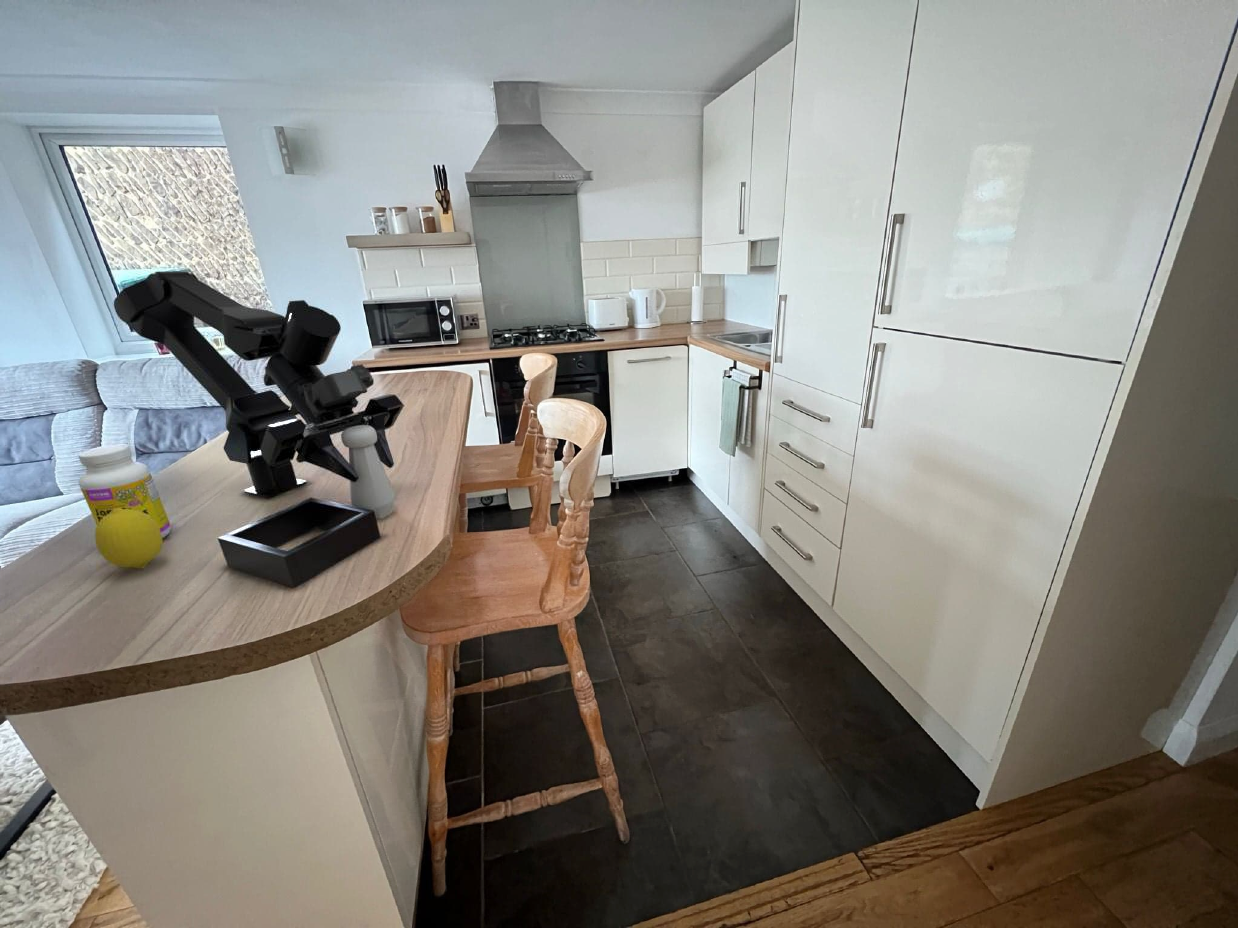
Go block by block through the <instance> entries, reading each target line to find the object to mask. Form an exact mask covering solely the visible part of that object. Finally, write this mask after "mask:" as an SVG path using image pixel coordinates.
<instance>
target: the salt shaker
mask: <svg viewBox="0 0 1238 928" xmlns="http://www.w3.org/2000/svg"><path fill="white" fill-rule="evenodd" d="M340 439H341V442H342V444H343V446H344V447H345V448H348V460H349V461H348V463H349V464H350V465H351V466H352V468H353V469H354V471H355V472H356V474H357V475H358V477H359V478H358V480H357V482H352V481H350V480H349V488H350V489H349V490H350V504H351V506H355V507H360V508H364V509H369V510H374V512H375V516H376V520H382V519H384V518H385V517H388V516H389V515H392V512H393V507H394V505H395V502H396V498H397V495H396V492H395V490H394V488H393V486H392V484H391V481H390V479H389V477H388V474H387V472H386V470H385V467H384V464H383V463H382V462H381V461H380V458H379V456H378V454H377V451H376V449H375V447H374V443H375V442H376V441H377V434H376V431H375V429H374V428H373V427H371V426H367V425H359V426H353V427H350V428H347V429H345V430H344V431H342V432H341V434H340Z"/></svg>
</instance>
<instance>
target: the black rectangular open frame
mask: <svg viewBox="0 0 1238 928" xmlns="http://www.w3.org/2000/svg"><path fill="white" fill-rule="evenodd" d="M377 520H378V519H376V516H375V512H374V510H369V509H364V508H360V507H355V506H352V505H350V504H344V503H340V502H335V501H332V500H331V501H330V500H326V499H321V498H317V497H313V496H312V497H309V498H306V499H304V500H302V501H299V502H296V503H295V504H292V505H290V506H288V507H286V508H284V509H281V510H278V511H276V512H273V513H272V514H269V515H267V516H265V517H262V518H260V519H258V520H256V521H254V522H251V523H249V524H247V525H244V526H242V527H239V528H238V529H236V530H235V529H234V530H233V531H230V532H228V533H226V534H223V535H222V536H219V537H217V540H218V541H217V542H218V543H219V546H220V549H221V552H222V554H223V557H224V560H225V562H226V566H227V567H228V568H230V569H233V570H235V571H239V572H243V573H246V574H249V575H252V576H256V577H259V578H262V579H264V580H268V581H271V582H274V583H277V584H281V585H284V586H286V587H290V588H293V589H295V588H297V587H299V586H300V585H302V584H304V583H305V582H307V581H309V580H311V579H313V578H314V577H316V576H318V575H319V574H321V573H322V572H324V571H326V570H327V569H329V568H331V567H333V566H334V565H336V564H338V563H339V562H341V561H343V560H344V559H346V558H348V557H350V556H352V555H353V554H355V553H357V552H359V551H360V550H362V549H363V548H365V547H367V546H369V545H370V544H372V543H374V542H375V541H378V540H379V539H381V534H380V528H379V525H378V522H377ZM315 528H319V529H322V530H323V529H324V530H326V531H324V532H322V533H319V534H318V535H316V536H314V537H312V538H309V539H308V540H306V541H304V542H303V543H300V544H298V545H296V546H294V547H292V548H291V549H288V550H284V549H281V548H278V547H280V546H281V545H283V544H286V543H288V542H289V541H291V540H293V539H295V538H298V537H299V536H302V535H303V534H305V533H308V532H309V531H311V530H314V529H315Z"/></svg>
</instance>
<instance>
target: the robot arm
mask: <svg viewBox="0 0 1238 928" xmlns="http://www.w3.org/2000/svg"><path fill="white" fill-rule="evenodd" d="M113 308H114V311H115V313H116V315H117V317H118V318H119V319H120V320H121V321H122V322H123V323H125V324H126V325H127V326H128V327H129V328H130V329H132V330H133V331H134V332H135V333H136V334H137V335H138V336H139V337H141V338H144V339H147V340H150V341H152V342H155V343H158V344H161V345H163V346H164V347H165V348H167V350H168V351H169V352H170V353H171V354H172V355H173V356H174V358H176V359H177V361H179V363H180V364H181V365H182V366H183V368H185V370H187V371H188V373H190V374H191V375H192V377H193V378H194V379H195V380H196V382H198V383H199V384H200V385H201V386H202V388H203V389H205V391H206V392H207V393H208V394H209V395H210V396H211V397H212V398H213V399H214V400H215V401H216V402H217V404H218V405H219V406H220V407H221V408H222V409H223V410H224V412H225V429H226V431H227V432H228V433H227V436H226V439H225V442H224V445H223V451H224V453H225V454H226V456H227V458H228V461H230V462H235V463H239V464H240V463H242V464H246V467H247V470H248V473H249V476H250V479H251V482H252V485H253V486H251V487H249V488H245V489H244V494H245V495H246V494H247V495H251V496H256V497H259V498H266V499H272V498H274V497H277V496H280V495H283V494H284V493H285V494H286V493H287V492H290V491H292V490H294V489H297V488H300V487H302V486H304V485H306V484H308V482H307V480H306V479H300V478H297V476H296V473H295V469H294V466H293V463H292V461H293V460H294V459H295V461H296V462H297V463H299V464H301V463H307V464H311V465H314V466H317V467H318V468H322V469H325V470H326V471H328V472H331V473H333V474H335V475H337V476H339V477H342V478H344V479H346V480H348V481H349V482H350V481H352V482H357V480H358V478H359V477H358V475H357V474H356V472H355V471H354V469H353V468H352V466H351V465H350V464H349V461H348V460H347V459H346V458H345V457H344V456H343V454H342V453H341V452H340V450H338V448H337V447H336V446H335V444H334V442H333V440H332V437H331V436H332V435H335V434H339V433H342V432H343V431H344V430H345V429H347V428H350V427H353V426H359V425H367V426H371V427H373V428H374V429H375V431H376V434H377V441H376V442H375V443H374V447H375V449H376V451H377V454H378V456H379V458H380V461H381V463H382V465H384V466H386V467H387V468H388V469H392V468H393V466H394V465H395V462H394V458H393V456H392V453H391V449H390V445H389V443H388V440H387V436H386V430H388V429H391V427H394V425H395V423H396V421H397V419H398V417H400V415H401V412H402V411H403V409H404V407H405V404H404V403H403V401H402V400H401V399H400V398H399V397H398V396H397V395H396V394H393V393H392V394H391V393H388V394H384V395H381V396H380V395H379V396H377V397H373V398H369V400H368V402H367V405H366V406H365V409H364V410H361V411H358V412H354V410H353V409H354V408H357V406H358V404H359V401H358V399H357V398H358V397H360V396H361V395H362V394H366V393H367V392H368V389H369V388H370V387H372V386H374V383H375V382H374V380H375V379H374V378H373V376H372V374H371V372H370V370H368V369H367V368H366V366H365V365H363V364H361V363H360V364H356V365H351V366H350V367H349V368H347V369H346V370H344V371H340V372H335V373H330V374H327V375H325V374H324V373H323V371H321V369H320V367H318V366H321V365H323V364H325V363H326V362H327V360H328V358H329V356H330V354H331V352H332V349H333V348H334V345H335V343H336V341H337V338H338V337H339V335H340V332H341V329H342V328H341V324H340V322H339V320H338V319H337V318H336V316H335V315H333V314H331V313H329V312H327V311H326V310H323V309H322V308H319V307H316V306H313V305H309V304H308V302H307V301H306V300H305V299H301V300H299V299H298V300H290V301H289V302H288V304H287V307H286V313H285V316H283V315H282V314H279V313H276V312H273V311H270V310H267V309H261V308H254V307H248V306H246V305H243V304H241V303H240V302H237V301H236V300H234V299H232V298H231V297H229V296H227V295H225V294H224V293H222V292H221V291H219V290H217V289H215V288H213V287H211V286H210V285H209V284H206V283H205V282H203V281H202V280H199V278H198V277H197V276H196V275H195V273H192V272H189V271H185V270H169V271H167V270H166V271H165V270H164V271H163V270H161V271H155V272H154V273H150V274H148V275H147V277H146V278H145V279H143V280H141V281H139V282H136V283H133V284H131V285H128V286H127V287H124V288H123V289H122V290H121V291H120V292H119V293H118V295H117V296H116V297H115V298H114V300H113ZM195 318H196V319H198V320H199V321H201V322H202V323H204V324H206V325H208V326H210V327H211V328H213V329H215V330H216V331H217V332H219V333H220V334H221V335H223V343H224V345H225V346H226V347H227V348H228V349H229V350H231V351H232V352H233V353H234V354H236V355H237V357H239V358H241V359H242V360H244V361H247V362H252V361H257V360H263V359H268V361H267V363H266V366H264V376H263V384H264V386H266V387H270V386H275V385H276V387H277V388H278V389H279V390H280V392H281V393H282V394H283V395H284V397H285V398H286V399H287V401H288V402H289V403H290V404H291V405H288V404H287V403H286V402H284V401H283V400H282V399H281V397H280V396H279V395H278V393H277V392H275V391H274V390H272V389H269V390H265V391H260V392H259V391H256V390H255V389H254V388H252V387H251V385H250V384H249V383H248V382H247V381H246V380H245V379H244V378H243V377H242V376H241V375H240V373H239V372H237V370H236V369H235V367H233V366H232V365H231V364H230V363H229V362H228V361H227V360H226V358H225V357H224V356H223V355H222V354H221V353H220V352H219V351H218V350H217V349H216V348H215V347H214V346H213V345H212V344H211V342H210V341H208V339H207V338H206V337H205V336H204V335H203V334H202V333H201V332H200V330H198V328H196V325H195ZM298 415H299V416H300V418H302V419H303V420H304V421H303V420H302V419H300V418H297V416H298ZM296 453H297V455H296ZM295 456H296V457H295Z"/></svg>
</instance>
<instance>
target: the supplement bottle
mask: <svg viewBox="0 0 1238 928" xmlns="http://www.w3.org/2000/svg"><path fill="white" fill-rule="evenodd" d="M132 456H133V452H132V450H131V447H130V446H129V444H125V443H117V444H108V445H103V446H97V447H93V448H90V449H87V450H84V451H81V452H80V453H78V459H79V461H80V463H81V465H83V466H84V467H85V469H86V471H85V472H83V474H81V476H79V479H78V486H79V488H80V491H81V494H82V495H83V497H84V500H85V503H86V504H87V506H88V508H89V511H90V513H91V515H92V518H93V520H94V522H95V525H96V526H97V525H98V523H99V522H100V521H101V520H102V518H104V517H105V516H106V515H108V514H110V513H111V512H112V511H113V509H116V508H122V509H132V510H137V511H141V512H143V513H145V514H147V515H148V516H150V517H151V518H152V519H153V520H154V522H155V523H156V524H157V526H158V527H159V529H160V531H161V534H162V539H164V538H165V537H167V536H168V535H169V534H170V532H171V531H172V525H171V523H170V519H169V516H168V514H167V512H166V509H165V507H164V504H163V502H162V499H161V497H160V494H159V491H158V489H157V486H156V483H155V481H154V478H153V476H152V473H151V471H150V469H149V467H148V466H147V465H146V464H144V463H142V462H139V461H134V460H133V457H132Z"/></svg>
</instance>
